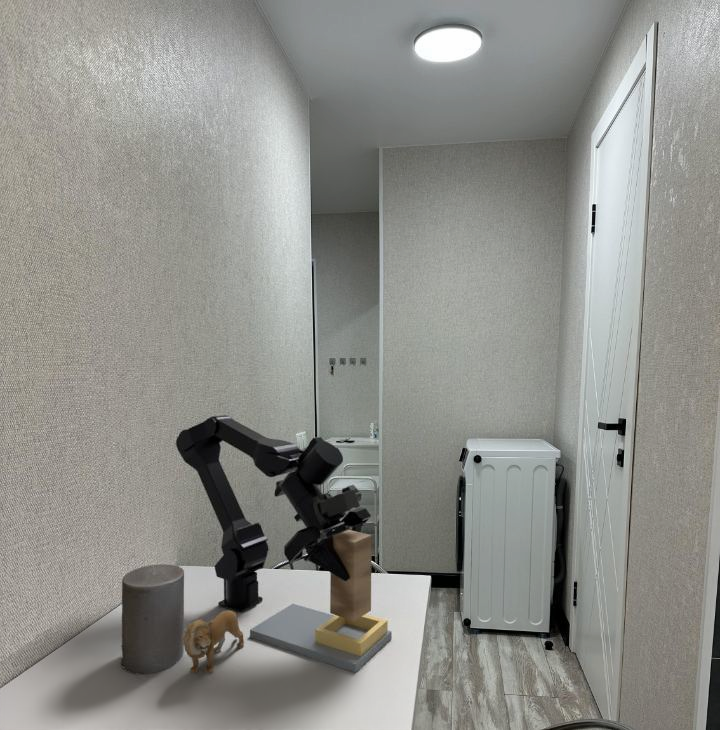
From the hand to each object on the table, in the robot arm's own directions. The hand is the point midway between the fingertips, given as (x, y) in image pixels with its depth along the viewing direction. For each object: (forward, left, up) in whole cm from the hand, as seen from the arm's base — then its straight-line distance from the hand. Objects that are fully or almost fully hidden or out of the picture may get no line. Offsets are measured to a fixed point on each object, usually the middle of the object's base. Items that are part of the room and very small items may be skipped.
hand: (357, 574), depth 89 cm
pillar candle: (-27, -20, -12) cm, 36 cm away
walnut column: (-2, 0, -7) cm, 7 cm away
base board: (-7, -1, -12) cm, 14 cm away
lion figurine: (-17, -16, -12) cm, 27 cm away
